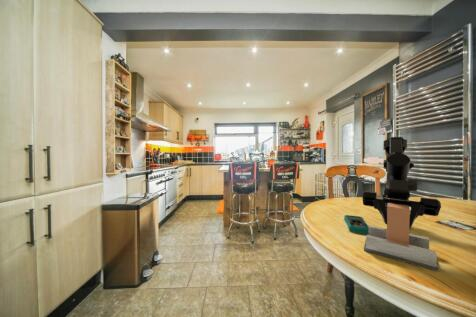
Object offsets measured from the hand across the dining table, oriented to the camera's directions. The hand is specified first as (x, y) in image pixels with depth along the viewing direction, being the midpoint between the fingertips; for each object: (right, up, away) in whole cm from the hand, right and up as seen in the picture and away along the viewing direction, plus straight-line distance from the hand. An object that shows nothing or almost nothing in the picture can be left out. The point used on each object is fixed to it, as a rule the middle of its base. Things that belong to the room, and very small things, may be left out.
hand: (397, 225), depth 55 cm
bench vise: (+3, -8, +4) cm, 10 cm away
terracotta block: (+1, -7, +1) cm, 7 cm away
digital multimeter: (+1, -9, +21) cm, 23 cm away
